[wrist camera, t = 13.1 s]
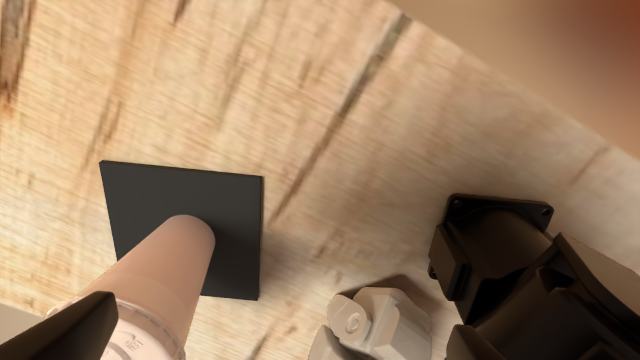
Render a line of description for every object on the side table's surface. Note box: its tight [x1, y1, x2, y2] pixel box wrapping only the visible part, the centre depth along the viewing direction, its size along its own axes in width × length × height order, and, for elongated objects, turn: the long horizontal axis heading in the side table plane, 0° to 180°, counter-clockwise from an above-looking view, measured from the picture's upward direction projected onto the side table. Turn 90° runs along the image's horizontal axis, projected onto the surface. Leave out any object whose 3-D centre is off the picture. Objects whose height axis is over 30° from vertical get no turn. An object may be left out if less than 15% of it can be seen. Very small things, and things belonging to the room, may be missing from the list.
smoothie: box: [39, 215, 215, 360], centre depth 17 cm, size 6×6×14 cm
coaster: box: [99, 160, 262, 301], centre depth 24 cm, size 10×10×1 cm
